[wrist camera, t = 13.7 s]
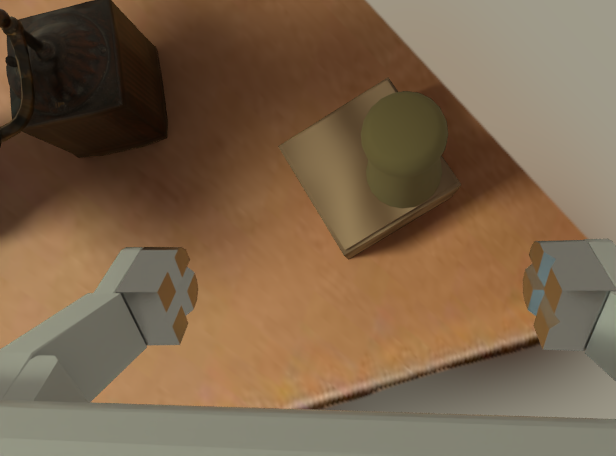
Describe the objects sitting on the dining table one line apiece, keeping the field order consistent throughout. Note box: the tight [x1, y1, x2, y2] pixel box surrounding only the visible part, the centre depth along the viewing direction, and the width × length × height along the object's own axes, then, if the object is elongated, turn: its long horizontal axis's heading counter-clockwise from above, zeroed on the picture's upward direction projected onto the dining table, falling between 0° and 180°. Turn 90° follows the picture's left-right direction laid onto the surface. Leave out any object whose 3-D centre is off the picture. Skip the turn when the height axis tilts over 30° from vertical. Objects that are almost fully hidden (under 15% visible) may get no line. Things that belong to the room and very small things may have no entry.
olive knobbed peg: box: [361, 91, 448, 208], centre depth 32 cm, size 6×6×11 cm
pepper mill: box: [0, 0, 168, 158], centre depth 40 cm, size 16×11×18 cm
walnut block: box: [278, 78, 461, 259], centre depth 41 cm, size 11×11×6 cm
